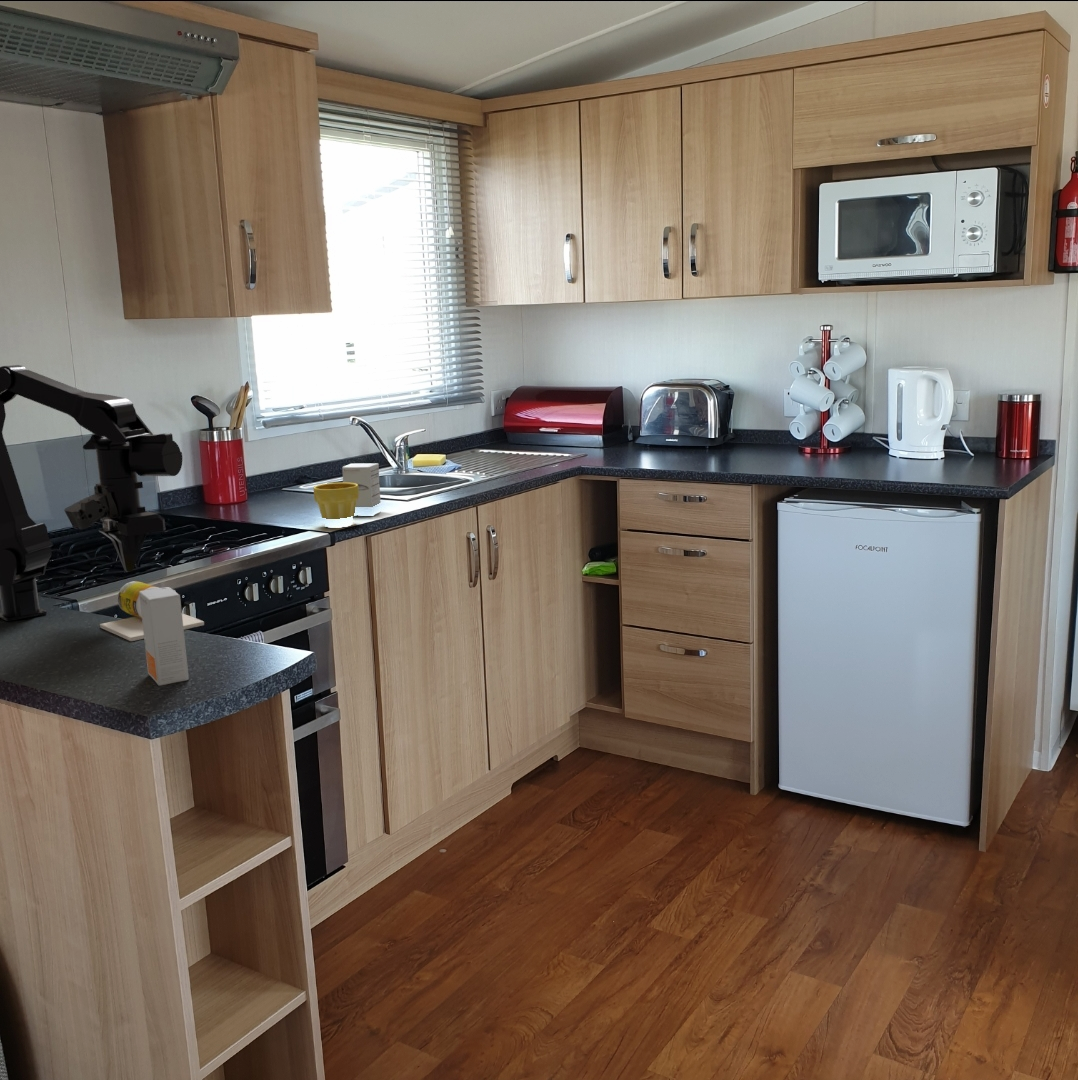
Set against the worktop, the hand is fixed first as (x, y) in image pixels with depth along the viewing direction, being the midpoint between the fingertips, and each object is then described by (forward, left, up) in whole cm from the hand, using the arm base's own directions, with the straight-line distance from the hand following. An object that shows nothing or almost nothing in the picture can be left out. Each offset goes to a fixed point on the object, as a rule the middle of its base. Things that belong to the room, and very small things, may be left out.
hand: (129, 570), depth 181 cm
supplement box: (-55, +82, -8) cm, 99 cm away
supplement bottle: (-2, +1, -5) cm, 5 cm away
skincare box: (+35, -10, -8) cm, 38 cm away
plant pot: (-46, +69, -8) cm, 83 cm away
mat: (+7, 0, -8) cm, 11 cm away
